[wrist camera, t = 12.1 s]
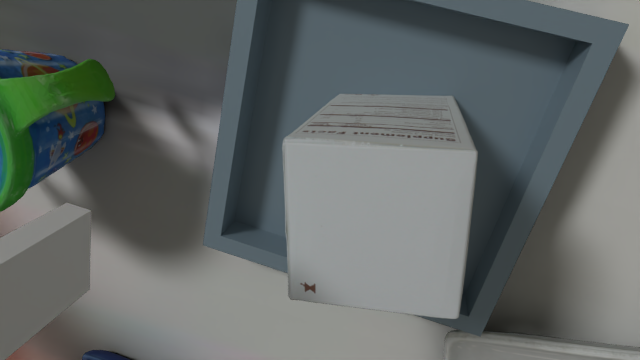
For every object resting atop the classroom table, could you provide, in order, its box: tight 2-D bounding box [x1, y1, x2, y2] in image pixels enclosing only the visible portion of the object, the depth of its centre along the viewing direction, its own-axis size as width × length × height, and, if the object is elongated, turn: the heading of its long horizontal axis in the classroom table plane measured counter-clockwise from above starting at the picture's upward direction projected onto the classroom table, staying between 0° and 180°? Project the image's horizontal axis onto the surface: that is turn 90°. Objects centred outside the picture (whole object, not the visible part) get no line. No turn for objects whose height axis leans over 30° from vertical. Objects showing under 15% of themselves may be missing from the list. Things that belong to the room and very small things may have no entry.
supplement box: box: [282, 94, 478, 319], centre depth 23 cm, size 7×7×13 cm
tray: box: [203, 0, 629, 337], centre depth 28 cm, size 20×20×4 cm
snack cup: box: [0, 49, 115, 211], centre depth 29 cm, size 16×10×10 cm
